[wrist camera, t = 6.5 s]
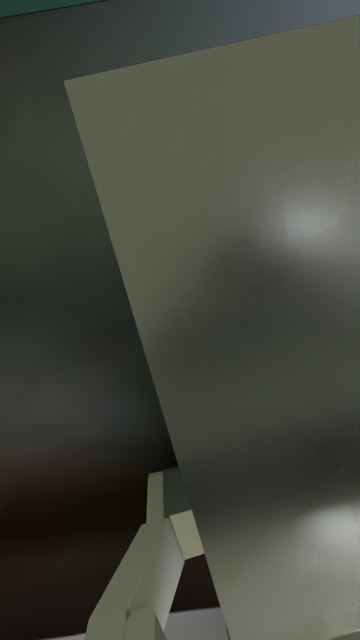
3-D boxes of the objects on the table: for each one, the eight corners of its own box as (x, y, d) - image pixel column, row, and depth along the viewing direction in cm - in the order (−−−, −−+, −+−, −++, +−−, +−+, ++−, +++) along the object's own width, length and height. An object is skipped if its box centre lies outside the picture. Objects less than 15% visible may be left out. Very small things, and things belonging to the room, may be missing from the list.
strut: (104, 184, 7) (9, 57, 3) (255, 148, 8) (426, -35, 3) (222, 595, 13) (262, 797, 8) (310, 569, 13) (399, 754, 8)
